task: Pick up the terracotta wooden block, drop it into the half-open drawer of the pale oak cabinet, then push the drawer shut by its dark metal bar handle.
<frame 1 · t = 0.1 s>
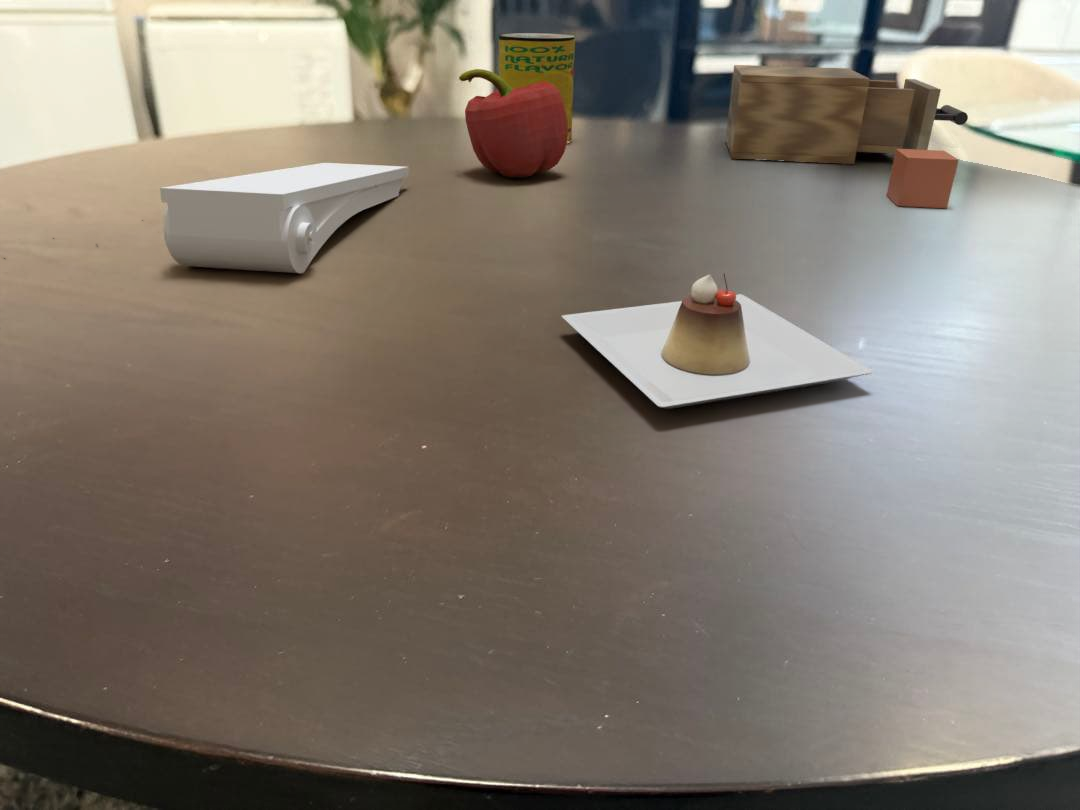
vegetable: (513, 176, 86), on the table
block: (915, 201, 79), on the table
cabinet: (785, 152, 100), on the table
dessert: (704, 364, 45), on the table
wall bracket: (312, 226, 68), on the table
drawer: (883, 116, 97), point 5 cm above the table, slide at 6.5 cm
beverage can: (535, 142, 104), on the table
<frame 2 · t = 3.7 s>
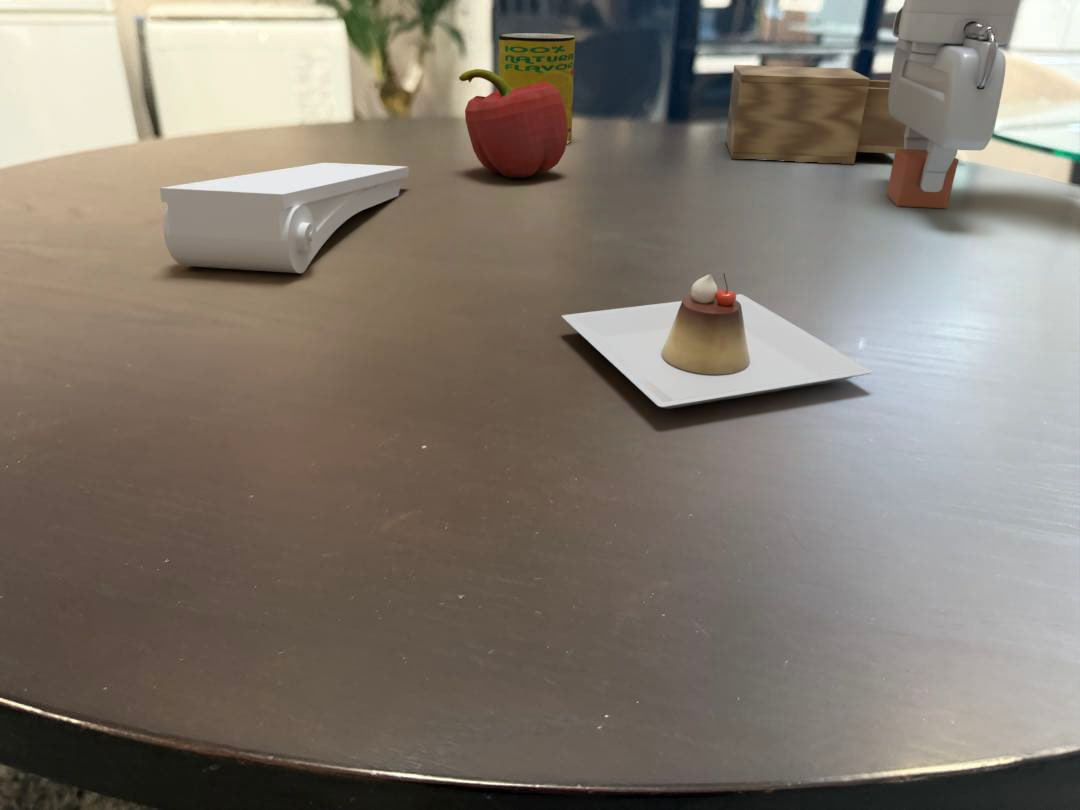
hand: (919, 183, 78), 2 cm above the table, tool pointing down, fingers closed on block, 4 cm apart
block: (915, 201, 79), on the table, touching gripper
everything else where it was.
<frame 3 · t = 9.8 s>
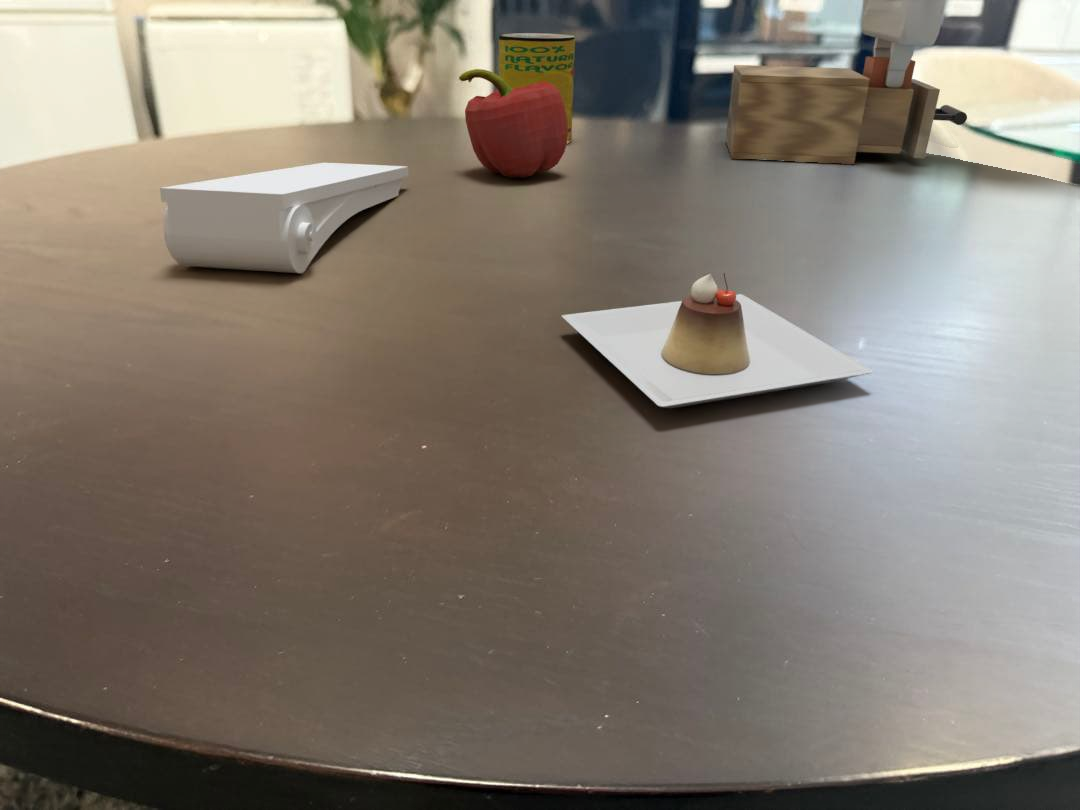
hand: (885, 84, 95), 8 cm above the table, tool pointing down, fingers closed on block, 4 cm apart
block: (882, 100, 96), point 6 cm above the table, touching gripper
drawer: (882, 116, 97), point 5 cm above the table, slide at 6.4 cm, touching gripper
everything else where it was.
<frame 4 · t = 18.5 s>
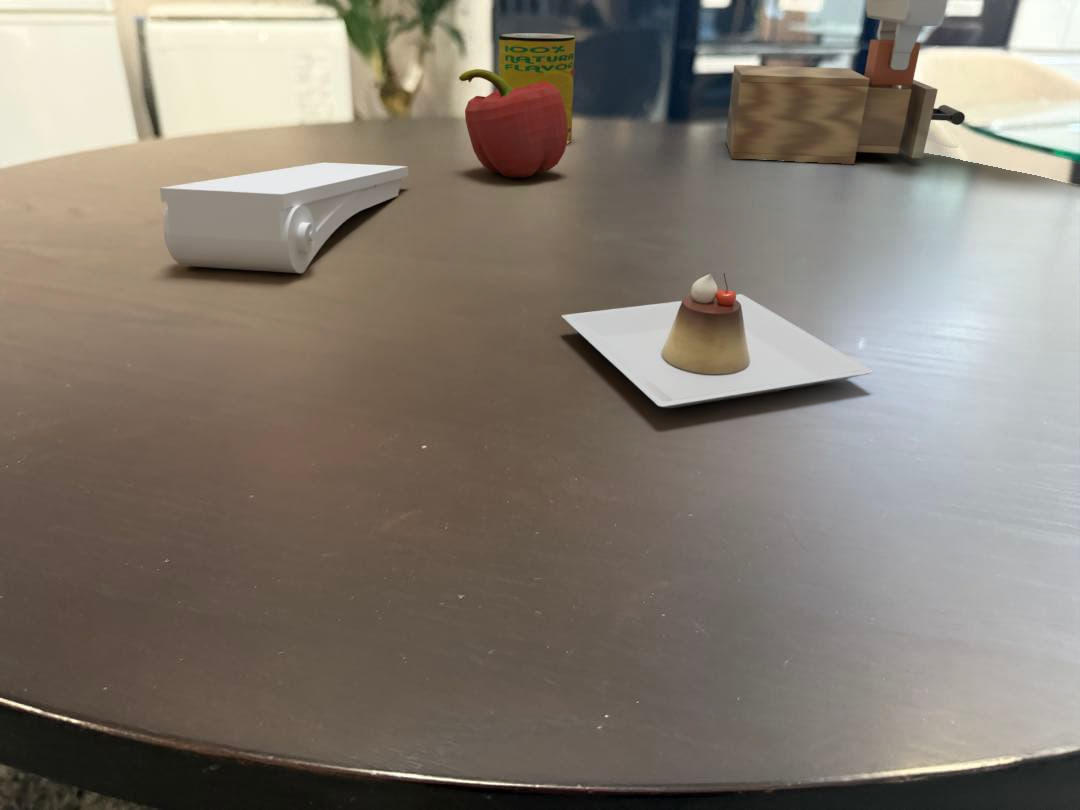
hand: (890, 67, 94), 10 cm above the table, tool pointing down, fingers closed on block, 4 cm apart
block: (887, 83, 95), point 8 cm above the table, touching gripper
drawer: (880, 116, 97), point 5 cm above the table, slide at 6.2 cm
everything else where it was.
when the fingers open (11 cm above the table, at t = 26.9 s): block drops 7 cm, resting on drawer.
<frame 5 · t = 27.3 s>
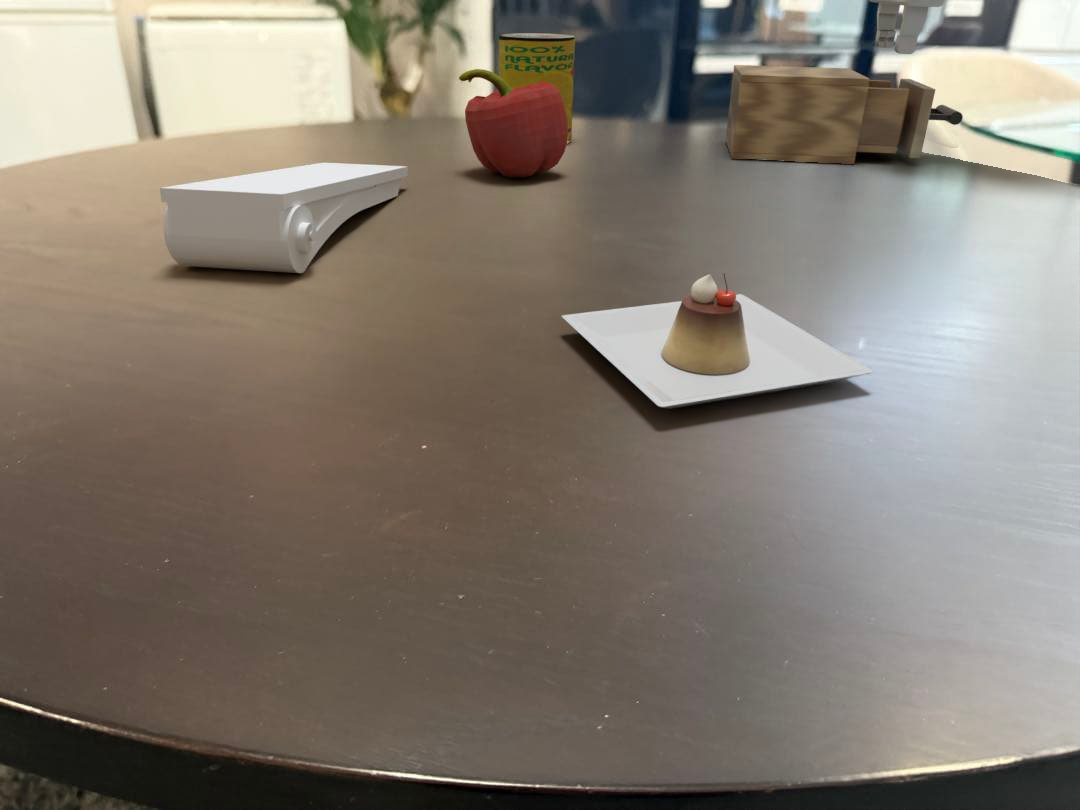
hand: (893, 50, 93), 12 cm above the table, tool pointing down, fingers open, 8 cm apart
block: (875, 139, 98), point 2 cm above the table, touching drawer
drawer: (878, 116, 97), point 5 cm above the table, slide at 5.9 cm, touching block
everything else where it was.
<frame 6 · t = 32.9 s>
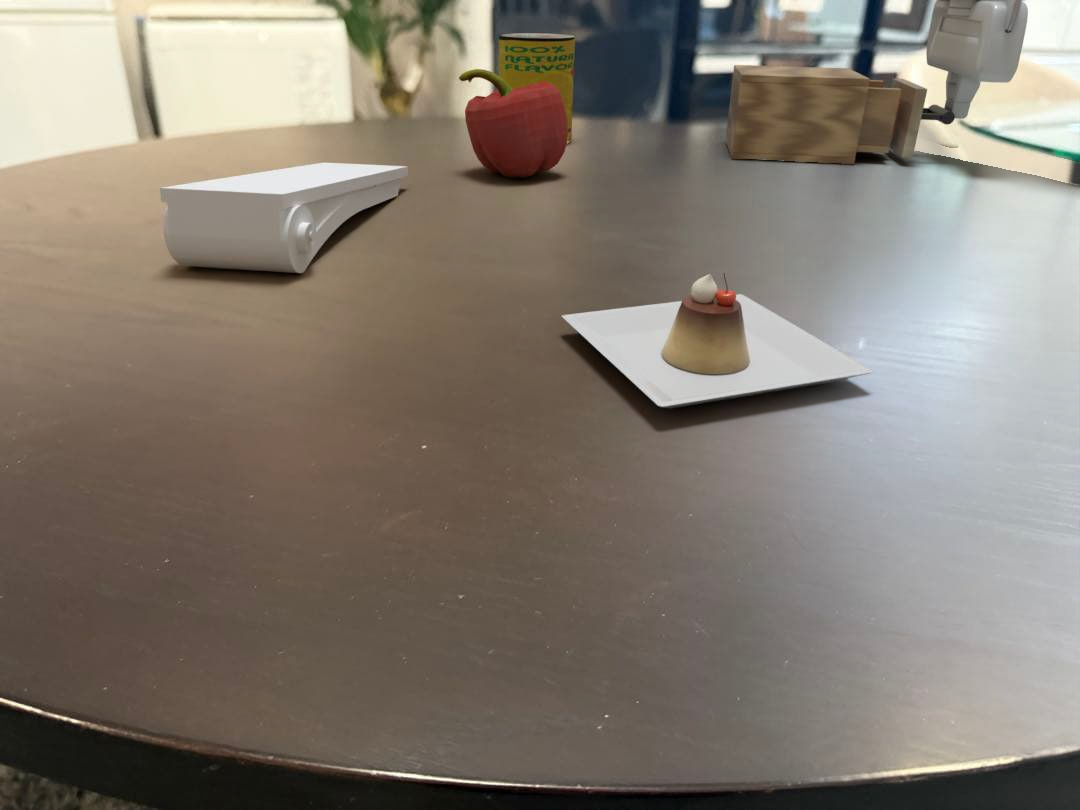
hand: (954, 116, 96), 5 cm above the table, tool pointing down, fingers closed, pressing on drawer
drawer: (870, 115, 97), point 5 cm above the table, slide at 5.1 cm, touching block, gripper
everything else where it was.
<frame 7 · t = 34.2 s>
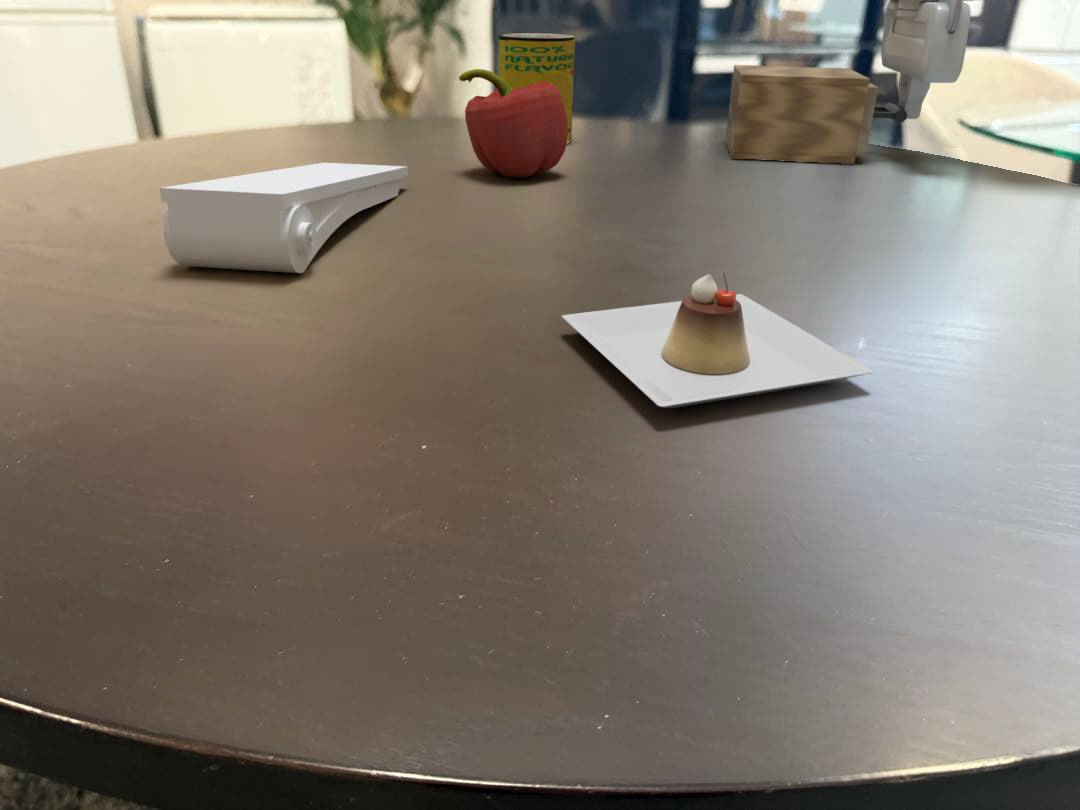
hand: (907, 117, 96), 5 cm above the table, tool pointing down, fingers closed, pressing on drawer
block: (823, 136, 98), point 2 cm above the table, touching drawer
drawer: (825, 114, 97), point 5 cm above the table, slide at 0.0 cm, touching block, cabinet, gripper
everything else where it was.
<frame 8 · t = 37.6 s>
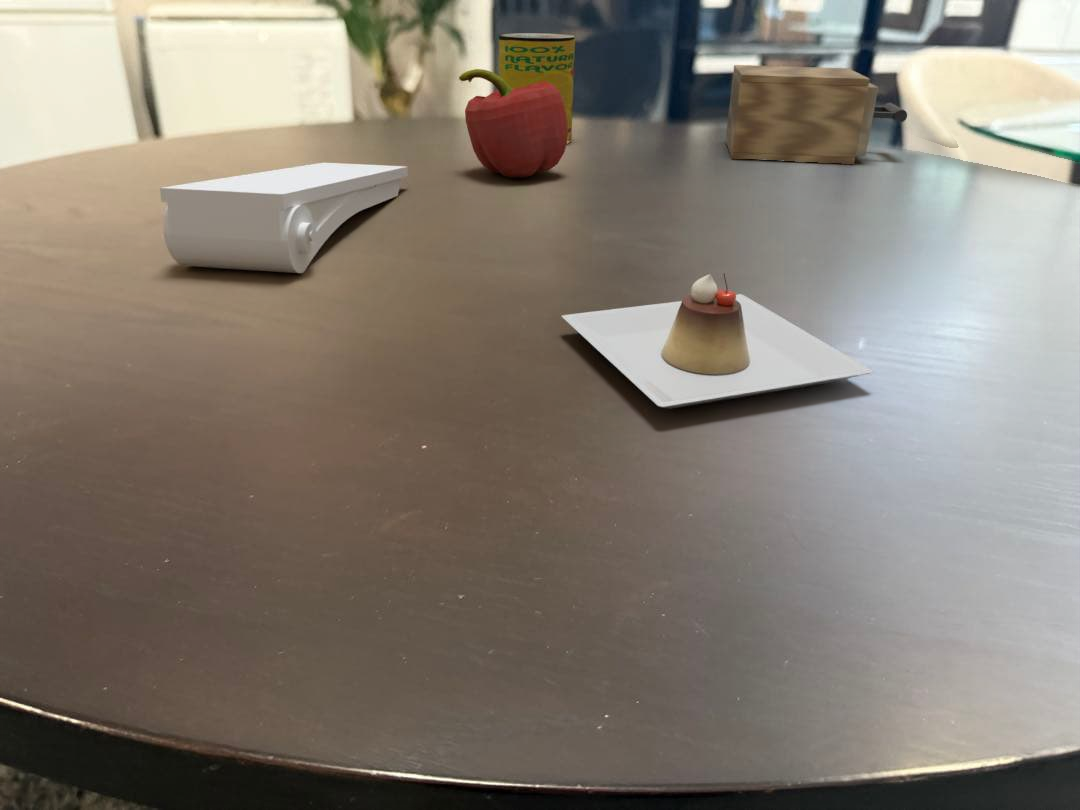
drawer: (825, 114, 97), point 5 cm above the table, slide at 0.0 cm, touching block, cabinet
everything else where it was.
at the end: block inside the target area in the cabinet (4.1 cm from its centre), point 2.0 cm above the cabinet's base; drawer slide at 0.0 cm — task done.
